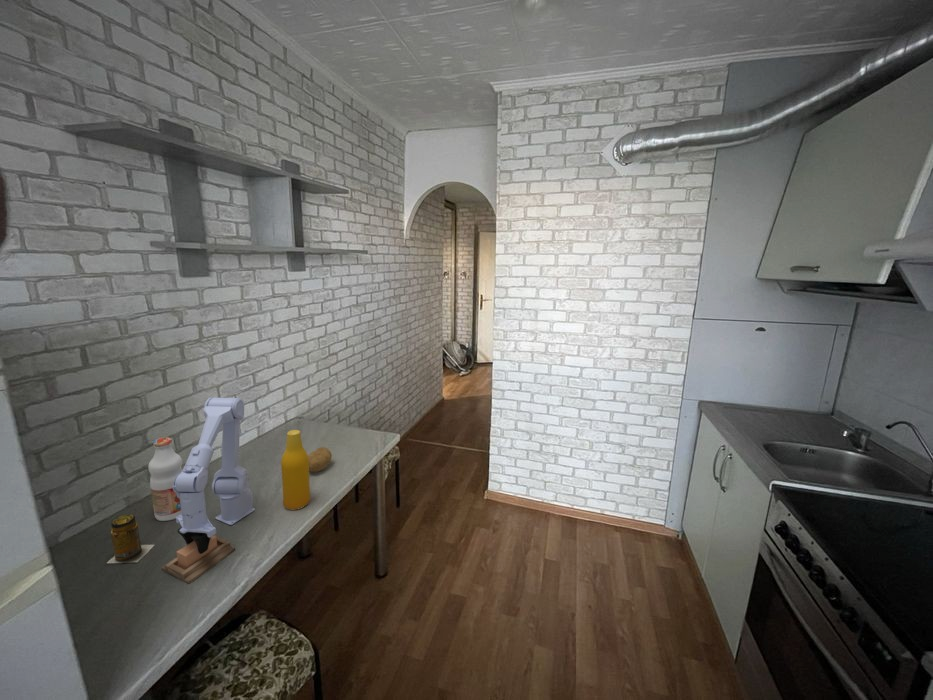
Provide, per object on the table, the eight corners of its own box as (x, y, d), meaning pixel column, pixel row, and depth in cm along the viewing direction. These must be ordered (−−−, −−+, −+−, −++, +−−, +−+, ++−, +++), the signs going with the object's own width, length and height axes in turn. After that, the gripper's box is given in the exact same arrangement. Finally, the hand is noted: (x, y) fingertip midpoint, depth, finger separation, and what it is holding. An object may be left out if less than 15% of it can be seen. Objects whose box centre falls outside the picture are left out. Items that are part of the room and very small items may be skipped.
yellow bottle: (311, 507, 140) (308, 435, 134) (283, 513, 136) (279, 440, 130) (309, 493, 148) (306, 425, 142) (283, 499, 144) (278, 429, 138)
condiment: (125, 545, 118) (119, 512, 115) (155, 545, 118) (150, 511, 116) (106, 564, 111) (99, 528, 108) (137, 563, 111) (131, 528, 109)
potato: (298, 475, 160) (297, 458, 158) (316, 459, 173) (316, 443, 172) (319, 479, 158) (318, 462, 156) (336, 462, 172) (336, 446, 170)
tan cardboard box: (208, 545, 118) (207, 532, 117) (217, 550, 117) (216, 536, 116) (178, 566, 110) (176, 551, 109) (187, 571, 109) (185, 556, 108)
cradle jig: (208, 538, 122) (208, 532, 122) (235, 550, 118) (234, 544, 118) (161, 569, 110) (160, 562, 109) (189, 584, 106) (188, 577, 105)
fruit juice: (157, 509, 134) (146, 437, 128) (189, 501, 139) (181, 432, 133) (152, 525, 127) (141, 449, 120) (187, 516, 132) (178, 443, 125)
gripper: (162, 510, 109) (168, 550, 112) (196, 525, 104) (201, 566, 107) (187, 497, 115) (192, 535, 118) (221, 510, 110) (225, 549, 113)
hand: (198, 549), depth 113 cm, fingers closed on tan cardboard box, 4 cm apart
